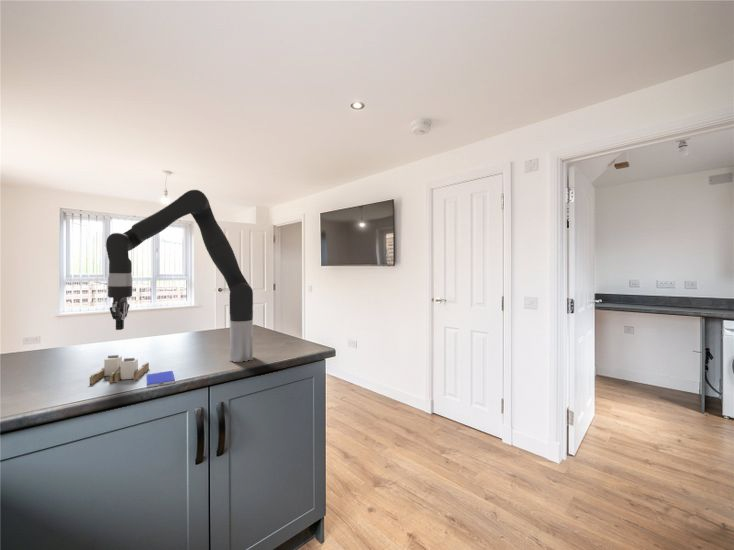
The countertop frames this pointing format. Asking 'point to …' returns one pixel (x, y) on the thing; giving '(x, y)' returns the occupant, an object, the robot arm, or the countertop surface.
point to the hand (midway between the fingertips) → (119, 329)
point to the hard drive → (160, 378)
